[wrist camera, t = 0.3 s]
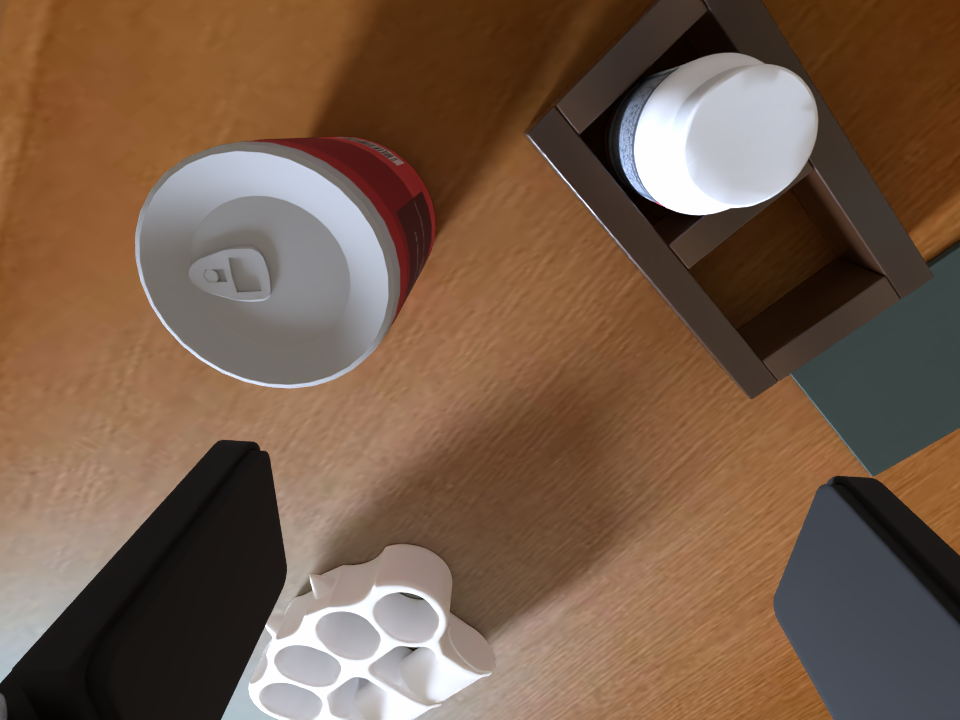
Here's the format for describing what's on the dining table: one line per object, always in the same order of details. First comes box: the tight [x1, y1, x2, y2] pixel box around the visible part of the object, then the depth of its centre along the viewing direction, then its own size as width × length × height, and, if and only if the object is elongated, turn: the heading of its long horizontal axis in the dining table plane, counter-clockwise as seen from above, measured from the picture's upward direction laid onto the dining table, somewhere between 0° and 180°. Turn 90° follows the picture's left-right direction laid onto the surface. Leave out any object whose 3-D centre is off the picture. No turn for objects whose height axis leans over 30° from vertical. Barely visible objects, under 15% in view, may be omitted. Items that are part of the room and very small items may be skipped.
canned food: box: [135, 137, 435, 388], centre depth 20 cm, size 8×8×11 cm
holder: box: [523, 0, 934, 399], centre depth 23 cm, size 9×16×4 cm, turn 44°
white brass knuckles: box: [249, 544, 496, 720], centre depth 36 cm, size 3×18×15 cm
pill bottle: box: [605, 53, 818, 215], centre depth 19 cm, size 5×5×9 cm
